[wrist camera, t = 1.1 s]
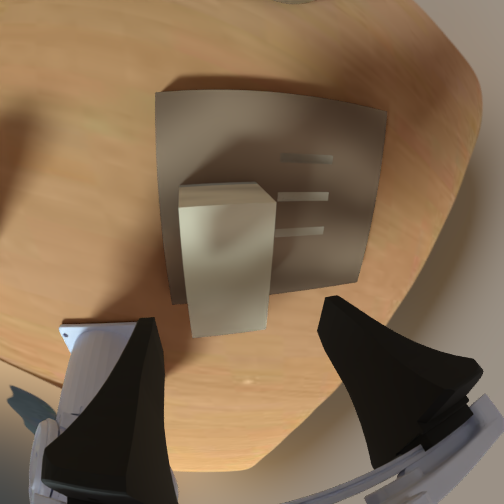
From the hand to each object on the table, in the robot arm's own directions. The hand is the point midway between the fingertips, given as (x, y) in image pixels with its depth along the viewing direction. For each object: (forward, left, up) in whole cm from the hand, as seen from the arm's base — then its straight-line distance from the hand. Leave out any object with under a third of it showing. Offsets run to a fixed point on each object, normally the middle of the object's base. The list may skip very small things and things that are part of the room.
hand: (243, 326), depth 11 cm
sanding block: (0, 0, -8) cm, 8 cm away
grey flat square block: (+2, -4, -9) cm, 10 cm away
